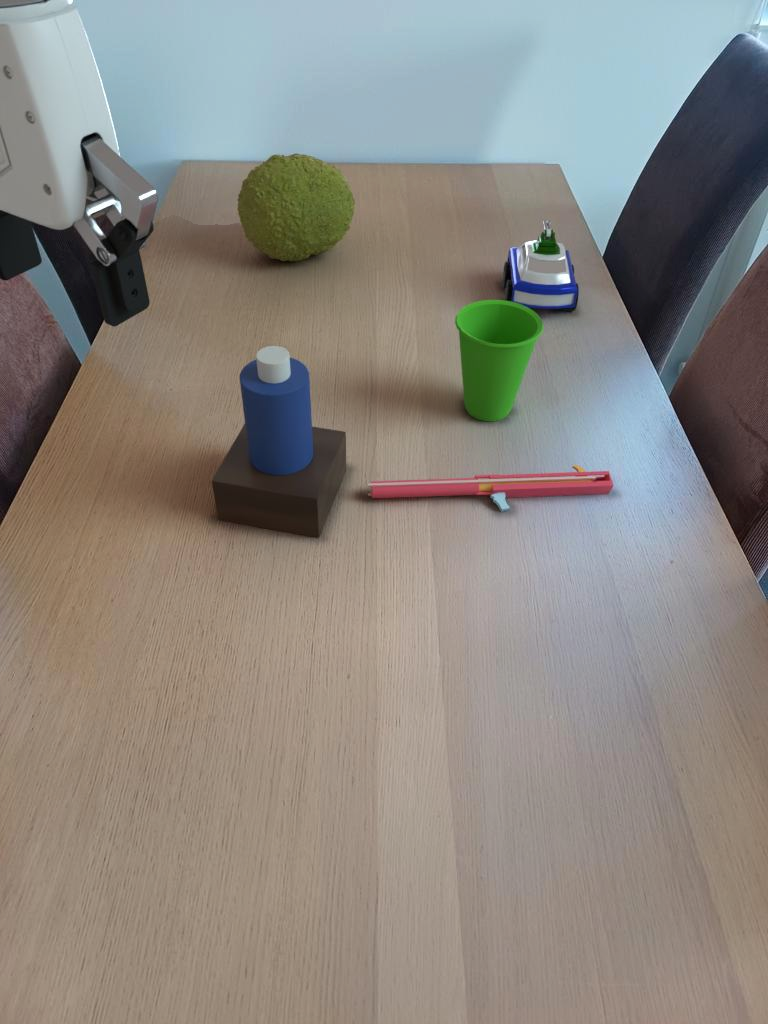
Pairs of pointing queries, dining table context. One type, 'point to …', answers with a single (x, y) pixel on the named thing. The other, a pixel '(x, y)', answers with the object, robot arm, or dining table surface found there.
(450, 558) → the dining table surface
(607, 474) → the pink long slotted bar
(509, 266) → the toy car
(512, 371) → the cup
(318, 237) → the fruit
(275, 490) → the block
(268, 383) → the bottle
